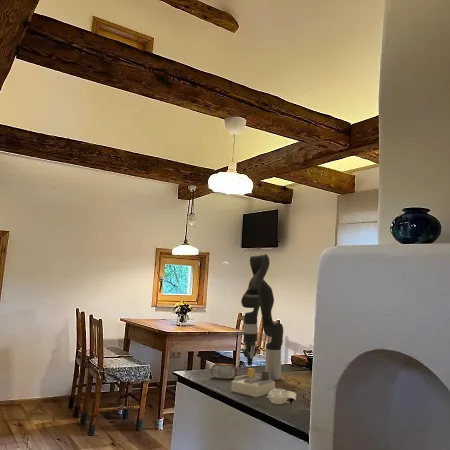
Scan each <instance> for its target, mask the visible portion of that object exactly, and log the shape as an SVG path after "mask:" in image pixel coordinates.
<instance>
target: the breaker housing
mask: <svg viewBox="0 0 450 450" xmlns="http://www.w3.org/2000/svg"><path fill="white" fill-rule="evenodd" d="M247 376H248V374H244V375H239V376H235V377H234V380H231V389H230V390H231V392H234V393H238V394H242V395H247V396H251V397H254V398H258V397H261V396H265V395H268V393H269V392H270V391H271V390H273V389H275V386H276V381H275V380H273V379H269V380H266V381H260V380H261V377H259V376H256V375H255V377H252V378H246V377H247Z"/></svg>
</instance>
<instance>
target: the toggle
mask: <svg viewBox="0 0 450 450" xmlns="http://www.w3.org/2000/svg"><path fill="white" fill-rule="evenodd" d="M260 378H261V380H260V381H266V380H270V379H269V372H268V371H265V370H261V376H260Z"/></svg>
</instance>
